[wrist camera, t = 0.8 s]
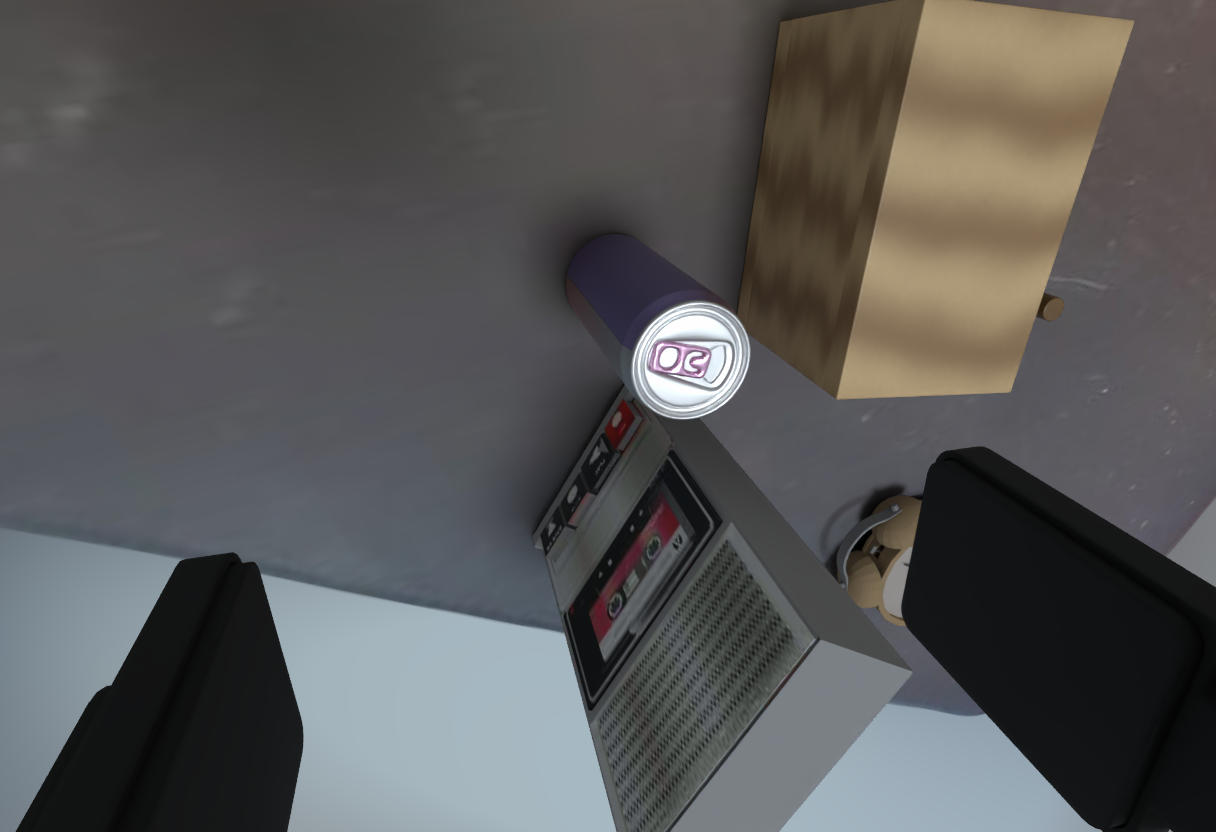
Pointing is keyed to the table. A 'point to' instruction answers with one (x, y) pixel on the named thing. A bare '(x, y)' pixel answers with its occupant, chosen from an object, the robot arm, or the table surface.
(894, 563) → the alarm clock
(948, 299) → the curio cabinet
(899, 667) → the cassette tape recorder
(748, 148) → the table surface
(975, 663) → the robot arm
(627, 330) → the beverage can
